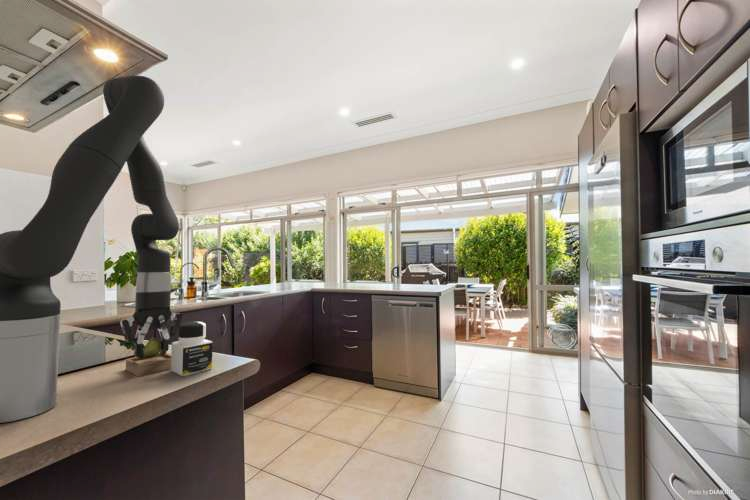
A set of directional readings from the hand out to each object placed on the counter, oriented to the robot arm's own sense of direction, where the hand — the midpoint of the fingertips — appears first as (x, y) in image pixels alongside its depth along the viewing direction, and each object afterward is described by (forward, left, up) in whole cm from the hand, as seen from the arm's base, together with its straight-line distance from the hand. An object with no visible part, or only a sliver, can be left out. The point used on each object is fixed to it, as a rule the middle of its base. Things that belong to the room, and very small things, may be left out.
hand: (151, 355), depth 83 cm
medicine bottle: (+6, -9, -4) cm, 12 cm away
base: (0, 0, -3) cm, 3 cm away
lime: (0, 0, -1) cm, 1 cm away
